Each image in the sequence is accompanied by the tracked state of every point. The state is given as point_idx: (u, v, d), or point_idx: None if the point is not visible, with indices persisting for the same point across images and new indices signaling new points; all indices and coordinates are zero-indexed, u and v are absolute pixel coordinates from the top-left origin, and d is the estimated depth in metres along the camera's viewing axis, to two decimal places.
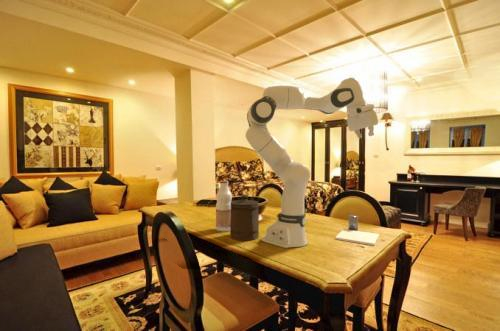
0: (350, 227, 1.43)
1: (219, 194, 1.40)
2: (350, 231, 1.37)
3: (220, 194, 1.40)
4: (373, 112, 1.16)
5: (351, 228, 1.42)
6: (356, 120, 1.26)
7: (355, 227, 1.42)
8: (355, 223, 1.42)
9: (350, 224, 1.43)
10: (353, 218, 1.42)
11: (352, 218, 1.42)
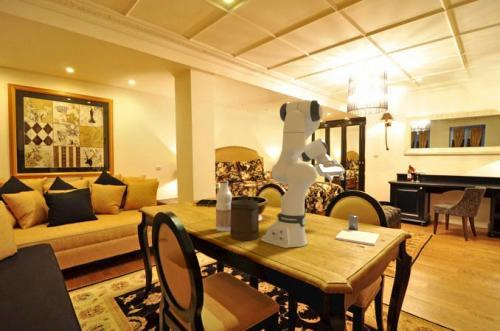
0: (350, 227, 1.43)
1: (219, 194, 1.40)
2: (350, 231, 1.37)
3: (220, 194, 1.40)
4: None
5: (351, 228, 1.42)
6: (329, 167, 1.58)
7: (355, 227, 1.42)
8: (355, 223, 1.42)
9: (350, 224, 1.43)
10: (353, 218, 1.42)
11: (352, 218, 1.42)
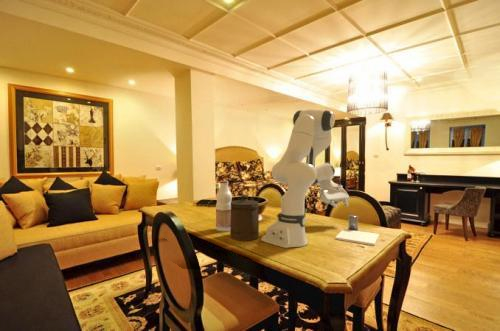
0: (350, 227, 1.43)
1: (219, 194, 1.40)
2: (350, 231, 1.37)
3: (220, 194, 1.40)
4: None
5: (351, 228, 1.42)
6: (333, 193, 1.55)
7: (355, 227, 1.42)
8: (355, 223, 1.42)
9: (350, 224, 1.43)
10: (353, 218, 1.42)
11: (352, 218, 1.42)
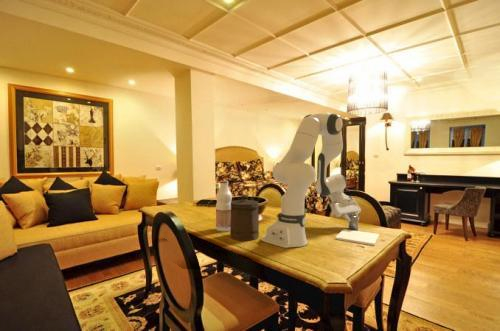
0: (350, 227, 1.43)
1: (219, 194, 1.40)
2: (350, 231, 1.37)
3: (220, 194, 1.40)
4: None
5: (351, 228, 1.42)
6: (345, 206, 1.48)
7: (355, 227, 1.42)
8: (355, 223, 1.42)
9: (350, 224, 1.43)
10: (353, 218, 1.42)
11: (352, 218, 1.42)
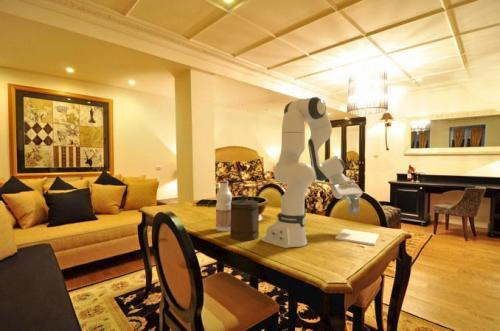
0: (351, 209, 1.37)
1: (219, 194, 1.40)
2: (350, 231, 1.37)
3: (220, 194, 1.40)
4: None
5: (352, 210, 1.37)
6: (346, 188, 1.42)
7: (356, 209, 1.36)
8: (356, 205, 1.36)
9: (351, 206, 1.37)
10: (354, 200, 1.36)
11: (353, 200, 1.36)
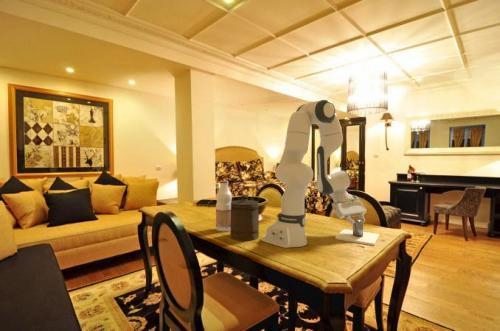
0: (354, 233, 1.28)
1: (219, 194, 1.40)
2: (350, 231, 1.37)
3: (220, 194, 1.40)
4: None
5: (356, 234, 1.28)
6: (348, 206, 1.33)
7: (360, 233, 1.27)
8: (360, 228, 1.27)
9: (354, 229, 1.28)
10: (358, 223, 1.27)
11: (357, 223, 1.27)
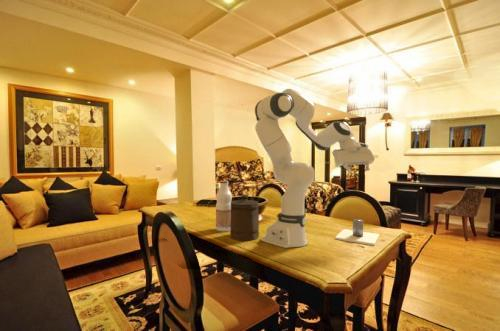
0: (355, 232, 1.28)
1: (219, 194, 1.40)
2: (350, 231, 1.37)
3: (220, 194, 1.40)
4: None
5: (356, 234, 1.28)
6: (352, 154, 1.29)
7: (360, 232, 1.27)
8: (360, 228, 1.27)
9: (355, 229, 1.28)
10: (358, 222, 1.27)
11: (357, 222, 1.28)
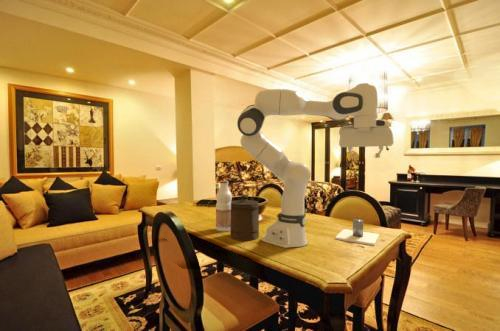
0: (355, 233, 1.28)
1: (219, 194, 1.40)
2: (350, 231, 1.37)
3: (220, 194, 1.40)
4: None
5: (356, 234, 1.28)
6: (361, 135, 1.02)
7: (360, 233, 1.27)
8: (360, 228, 1.27)
9: (355, 229, 1.28)
10: (358, 223, 1.27)
11: (357, 223, 1.27)
